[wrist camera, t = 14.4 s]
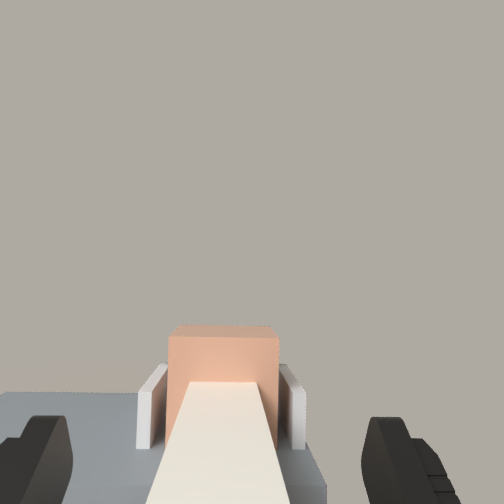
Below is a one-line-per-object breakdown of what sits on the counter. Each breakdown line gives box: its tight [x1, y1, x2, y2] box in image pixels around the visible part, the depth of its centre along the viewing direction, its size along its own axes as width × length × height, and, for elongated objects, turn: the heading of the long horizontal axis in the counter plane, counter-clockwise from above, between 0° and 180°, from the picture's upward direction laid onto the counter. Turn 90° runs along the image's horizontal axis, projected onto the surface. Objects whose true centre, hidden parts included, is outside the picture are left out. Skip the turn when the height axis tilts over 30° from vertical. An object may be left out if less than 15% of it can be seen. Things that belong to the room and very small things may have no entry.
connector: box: [146, 325, 290, 504], centre depth 17 cm, size 5×17×5 cm, turn 3°
